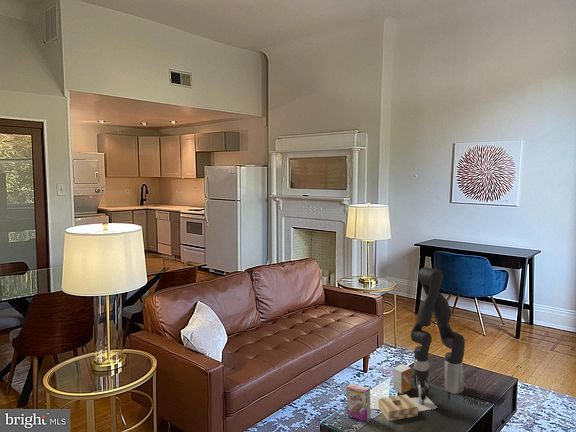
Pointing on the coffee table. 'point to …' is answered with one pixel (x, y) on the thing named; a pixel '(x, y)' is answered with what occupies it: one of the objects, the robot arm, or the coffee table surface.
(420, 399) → the peg
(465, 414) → the coffee table surface
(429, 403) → the mat
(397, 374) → the small box
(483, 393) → the coffee table surface
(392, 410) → the hole block
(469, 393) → the coffee table surface
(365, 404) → the candy bar box
